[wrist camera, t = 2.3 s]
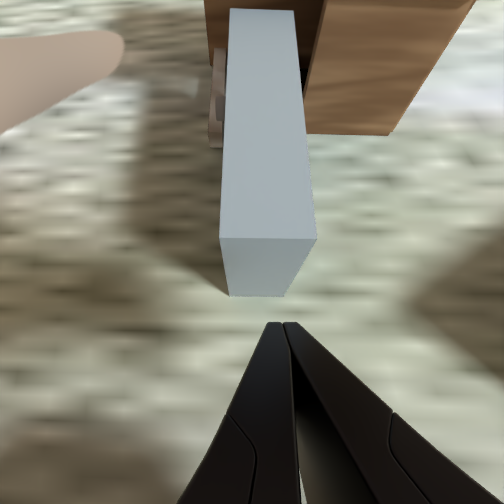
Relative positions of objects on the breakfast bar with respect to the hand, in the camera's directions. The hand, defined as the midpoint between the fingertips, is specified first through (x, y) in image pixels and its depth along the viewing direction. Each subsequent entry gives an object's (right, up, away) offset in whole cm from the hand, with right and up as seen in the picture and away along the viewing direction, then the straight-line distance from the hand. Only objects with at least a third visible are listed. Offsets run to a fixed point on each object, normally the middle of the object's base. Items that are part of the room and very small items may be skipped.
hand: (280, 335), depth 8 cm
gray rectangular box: (-1, +6, +16) cm, 17 cm away
